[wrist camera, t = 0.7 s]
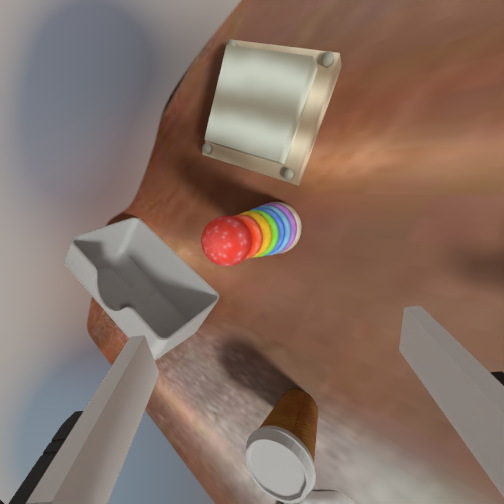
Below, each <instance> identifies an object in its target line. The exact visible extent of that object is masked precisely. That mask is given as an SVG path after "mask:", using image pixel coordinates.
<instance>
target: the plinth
mask: <svg viewBox="0 0 504 504" xmlns="http://www.w3.org/2000/svg"><path fill="white" fill-rule="evenodd" d="M341 67H342V64H341V59H340V53H335V52H331V51H318V50H310V49H302V48H294V47H286V46H278V45H270V44H262V43H254V42H245V41H237V40H233V39H230V40H229V41H228V42H227V45H226V49H225V54H224V58H223V62H222V66H221V71H220V75H219V79H218V83H217V88H216V92H215V96H214V100H213V104H212V109H211V113H210V117H209V121H208V126H207V130H206V134H205V138H204V140H206V141H205V144H204V145H203V147H202V151H203V153H202V155H205V156H208V157H211V158H214V159H217V160H220V161H223V162H226V163H229V164H232V165H236V166H239V167H242V168H245V169H248V170H251V171H254V172H257V173H260V174H263V175H267V176H270V177H273V178H276V179H279V180H282V181H285V182H288V183H291V184H294V185H297V186H299V185H300V182H301V180H302V177H303V174H304V171H305V168H306V165H307V163H308V160H309V157H310V154H311V151H312V149H313V146H314V143H315V140H316V137H317V135H318V132H319V129H320V126H321V123H322V121H323V118H324V115H325V112H326V109H327V106H328V104H329V101H330V98H331V95H332V92H333V90H334V87H335V84H336V81H337V78H338V76H339V73H340V70H341Z"/></svg>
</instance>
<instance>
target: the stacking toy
mask: <svg viewBox="0 0 504 504" xmlns="http://www.w3.org/2000/svg"><path fill="white" fill-rule="evenodd" d="M300 235H301V221H300V218H299V216H298V214H297V213H296V211H295V210H294V209H293V208H292V207H291V206H289V205H288V204H285V203H282V202H271V203H267V204H264V205H261V206H260V207H257V208H254V209H252V210H250V211H247V212H243V213H241V214H239V215H235V216H220V217H217V218H215V219H213V220H212V221H210V222H209V223H208V224H207V225H206V227H205V229H204V231H203V233H202V238H201V244H202V248H203V251H204V253H205V255H206V256H207V257H208V258H209V259H210V260H211V261H212V262H214V263H216V264H218V265H221V266H232V265H236V264H238V263H240V262H241V261H243V260H244V259H248V258H251V257H261V256H265V255H273V254H279V253H284V252H286V251H288V250H290V249H291V248H293V247H294V246H295V245H296V243H297V242H298V240H299V238H300Z"/></svg>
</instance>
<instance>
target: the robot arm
mask: <svg viewBox="0 0 504 504" xmlns="http://www.w3.org/2000/svg"><path fill="white" fill-rule="evenodd" d="M399 351H400V352H401V354H402V355H403V356H404V358H405V359H406V361H407V362H408V363H409V365H410V366H411V368H412V369H413V370H414V372H415V373H416V375H417V376H418V377H419V379H420V380H421V382H422V383H423V385H424V386H425V387H426V389H427V390H428V392H429V393H430V394H431V396H432V397H433V399H434V400H435V401H436V403H437V404H438V406H439V407H440V408H441V410H442V411H443V413H444V414H445V415H446V417H447V418H448V420H449V421H450V422H451V424H452V425H453V427H454V428H455V430H456V431H457V432H458V434H459V435H460V437H461V438H462V439H463V441H464V442H465V444H466V445H467V446H468V448H469V449H470V451H471V452H472V453H473V455H474V456H475V458H476V459H477V460H478V462H479V463H480V465H481V466H482V468H483V469H484V470H485V472H486V473H487V475H488V476H489V477H490V479H491V480H492V482H493V483H494V484H495V486H496V487H497V489H498V490H499V491H500V493H501V494H502V496H503V497H504V373H503V372H502V371H501V372H489V371H488V370H487V369H486V368H485V367H484V366H482V365H481V364H480V363H479V362H478V361H477V360H476V359H475V358H474V357H473V356H472V355H471V354H470V353H469V352H468V351H467V350H466V349H465V348H464V347H463V346H462V345H461V344H460V343H459V342H458V341H457V340H456V339H454V338H453V337H452V336H451V335H450V334H449V333H448V332H447V331H446V330H445V329H444V328H443V327H442V326H441V325H440V324H439V323H438V322H437V321H436V320H435V319H434V318H433V317H432V316H431V315H430V314H429V313H428V312H426V311H425V310H424V309H423V308H422V307H421V306H412V307H404V314H403V322H402V330H401V339H400V347H399ZM158 376H159V372H158V369H157V366H156V364H155V361H154V358H153V356H152V353H151V350H150V348H149V345H148V342H147V340H146V337H145V335H142V336H132V337H130V338H129V340H128V341H127V343H126V345H125V346H124V348H123V349H122V351H121V352H120V354H119V356H118V357H117V359H116V360H115V362H114V364H113V365H112V367H111V368H110V370H109V372H108V373H107V375H106V376H105V378H104V380H103V381H102V383H101V384H100V386H99V387H98V389H97V391H96V392H95V394H94V395H93V397H92V399H91V400H90V402H89V403H88V405H87V407H86V408H85V410H84V411H77V412H75V413H73V414H72V415H71V416H70V417H69V418H68V419H67V420H66V421H65V422H64V423H63V424H62V426H61V427H60V428H59V430H58V432H57V433H56V434H55V436H54V437H53V439H52V442H51V443H49V445H48V446H47V448H46V449H45V451H44V452H43V455H42V456H41V457H40V458H39V460H38V461H37V462H36V464H35V465H34V467H33V468H32V470H31V471H30V473H29V474H28V476H27V477H26V479H25V480H24V482H23V483H22V485H21V486H20V488H19V489H18V491H17V492H16V493H15V495H14V496H13V498H12V500H11V501H10V503H9V504H107V503H108V500H109V498H110V495H111V493H112V490H113V488H114V485H115V483H116V480H117V478H118V475H119V473H120V470H121V468H122V465H123V463H124V460H125V458H126V456H127V453H128V451H129V448H130V446H131V443H132V440H133V438H134V436H135V433H136V431H137V428H138V425H139V423H140V420H141V418H142V416H143V413H144V411H145V408H146V406H147V403H148V401H149V398H150V396H151V393H152V391H153V388H154V386H155V383H156V381H157V378H158ZM0 504H4V503H3V502H2V501H1V500H0Z"/></svg>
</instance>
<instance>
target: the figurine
mask: <svg viewBox="0 0 504 504" xmlns="http://www.w3.org/2000/svg"><path fill="white" fill-rule="evenodd" d="M284 504H291V503H284ZM292 504H355V503H354V502H353V501H352V500H351V499H350V498H348V497H346V496H345V495H343V494H341V493H340V492H338V491H318V492H316V491H310V492H309V493H308V494H307V496H306V497H305V498H304V499H303V500H302V501H300V502H298V503H292Z"/></svg>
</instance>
